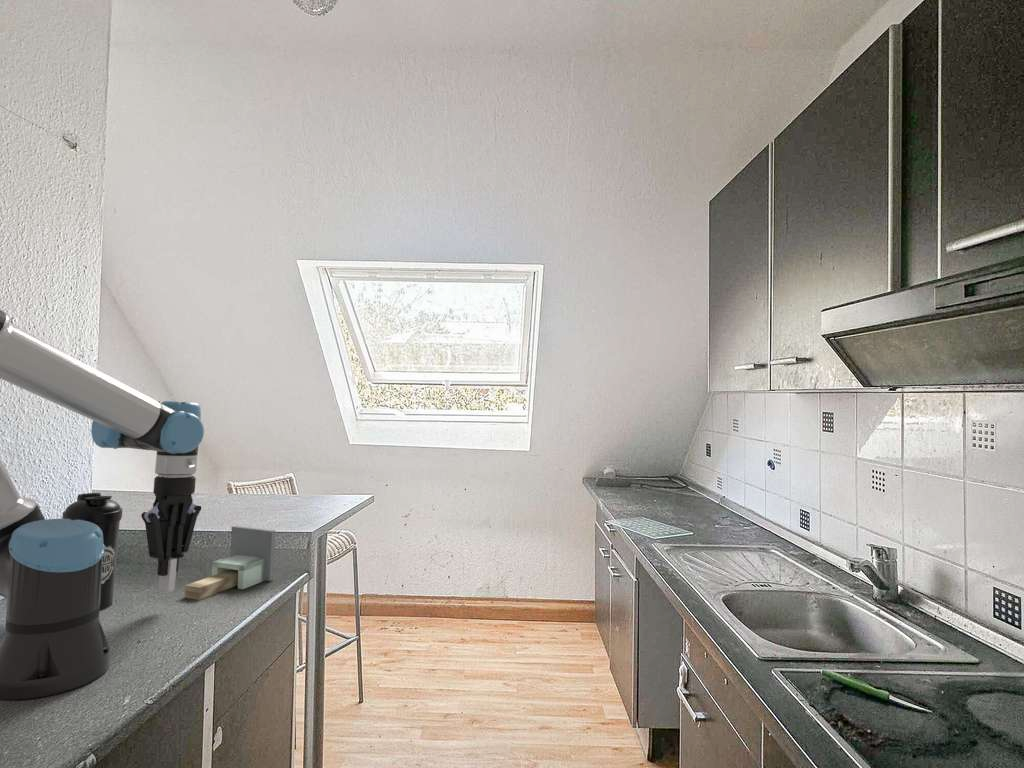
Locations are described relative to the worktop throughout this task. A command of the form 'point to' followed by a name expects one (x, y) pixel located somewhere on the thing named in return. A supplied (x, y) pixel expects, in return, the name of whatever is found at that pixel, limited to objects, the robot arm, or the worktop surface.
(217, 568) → the end cap
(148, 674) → the worktop surface
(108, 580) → the water bottle
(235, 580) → the slat
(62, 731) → the worktop surface
